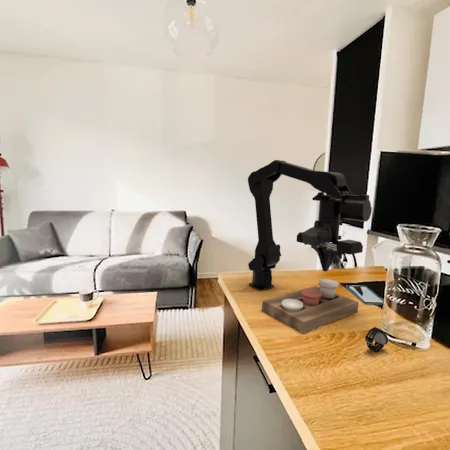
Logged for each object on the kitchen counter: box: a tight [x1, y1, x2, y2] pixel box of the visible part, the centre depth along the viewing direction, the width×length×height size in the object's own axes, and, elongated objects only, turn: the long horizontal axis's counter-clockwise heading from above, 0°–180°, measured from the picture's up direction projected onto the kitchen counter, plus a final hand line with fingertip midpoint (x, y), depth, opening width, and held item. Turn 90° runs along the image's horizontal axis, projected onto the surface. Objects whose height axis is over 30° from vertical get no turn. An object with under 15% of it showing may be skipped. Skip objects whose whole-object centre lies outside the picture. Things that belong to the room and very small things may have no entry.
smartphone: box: [345, 284, 384, 306], centre depth 98 cm, size 7×1×15 cm
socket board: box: [261, 285, 359, 335], centre depth 85 cm, size 15×23×3 cm, turn 124°
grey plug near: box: [282, 299, 303, 313], centre depth 80 cm, size 6×6×4 cm
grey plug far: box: [317, 278, 340, 298], centre depth 88 cm, size 6×6×4 cm
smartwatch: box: [364, 326, 389, 353], centre depth 66 cm, size 4×5×5 cm
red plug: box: [300, 287, 322, 306], centre depth 84 cm, size 6×6×4 cm
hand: (325, 271), depth 86 cm, fingers closed
